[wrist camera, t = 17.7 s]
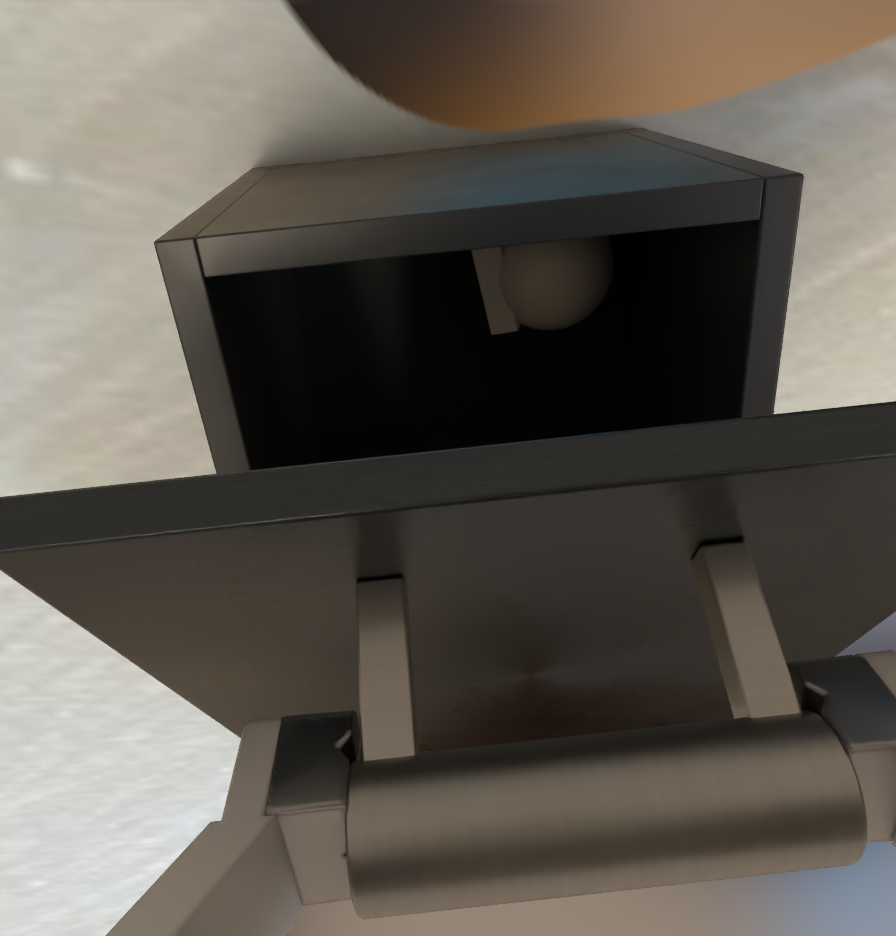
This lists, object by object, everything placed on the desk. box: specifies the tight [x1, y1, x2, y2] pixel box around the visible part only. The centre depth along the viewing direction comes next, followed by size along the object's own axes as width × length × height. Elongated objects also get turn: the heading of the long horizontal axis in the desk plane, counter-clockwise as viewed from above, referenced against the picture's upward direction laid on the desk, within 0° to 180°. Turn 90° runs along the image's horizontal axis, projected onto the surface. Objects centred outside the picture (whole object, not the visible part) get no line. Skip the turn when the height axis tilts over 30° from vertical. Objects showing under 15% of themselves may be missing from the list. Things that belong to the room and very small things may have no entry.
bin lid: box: [0, 401, 896, 919], centre depth 15 cm, size 17×14×5 cm
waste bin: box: [154, 128, 804, 474], centre depth 26 cm, size 16×14×12 cm
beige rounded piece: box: [471, 236, 614, 335], centre depth 26 cm, size 4×4×4 cm
